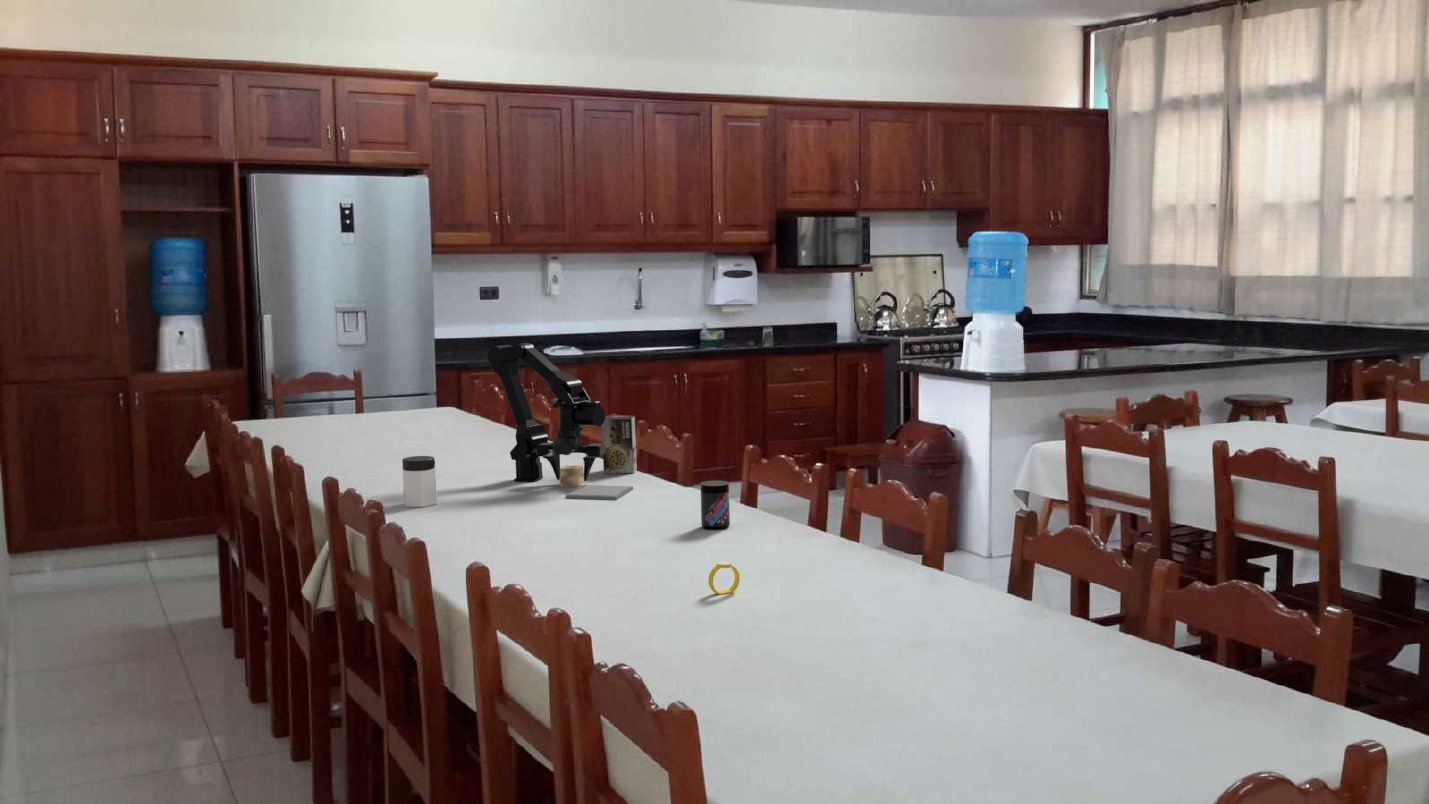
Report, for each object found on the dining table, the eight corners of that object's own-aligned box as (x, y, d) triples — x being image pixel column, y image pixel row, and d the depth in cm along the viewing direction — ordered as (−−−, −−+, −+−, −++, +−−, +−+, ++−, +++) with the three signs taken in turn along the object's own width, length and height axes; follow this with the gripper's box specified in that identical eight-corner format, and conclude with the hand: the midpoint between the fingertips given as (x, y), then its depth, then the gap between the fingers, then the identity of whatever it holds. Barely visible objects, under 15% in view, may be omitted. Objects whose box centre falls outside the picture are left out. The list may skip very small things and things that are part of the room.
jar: (439, 505, 321) (436, 459, 319) (406, 508, 318) (404, 462, 316) (434, 499, 329) (432, 454, 327) (402, 502, 326) (400, 456, 325)
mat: (565, 498, 327) (565, 494, 327) (584, 487, 341) (584, 484, 341) (616, 499, 324) (616, 496, 324) (633, 489, 337) (633, 486, 337)
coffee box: (637, 469, 367) (636, 415, 365) (633, 473, 361) (632, 418, 359) (606, 469, 368) (605, 415, 366) (602, 473, 362) (601, 418, 359)
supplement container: (698, 530, 288) (697, 485, 287) (704, 523, 295) (703, 480, 293) (726, 531, 287) (726, 486, 285) (732, 524, 293) (731, 480, 292)
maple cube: (560, 486, 344) (559, 468, 343) (566, 482, 349) (566, 465, 348) (577, 486, 343) (576, 468, 342) (583, 483, 348) (583, 465, 347)
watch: (734, 590, 239) (735, 560, 238) (741, 594, 236) (742, 563, 236) (706, 593, 236) (707, 562, 235) (712, 596, 233) (714, 565, 233)
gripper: (527, 428, 338) (529, 484, 340) (592, 429, 334) (594, 486, 336) (542, 422, 349) (544, 477, 351) (605, 423, 344) (607, 479, 346)
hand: (571, 480), depth 346 cm, fingers open, 8 cm apart
